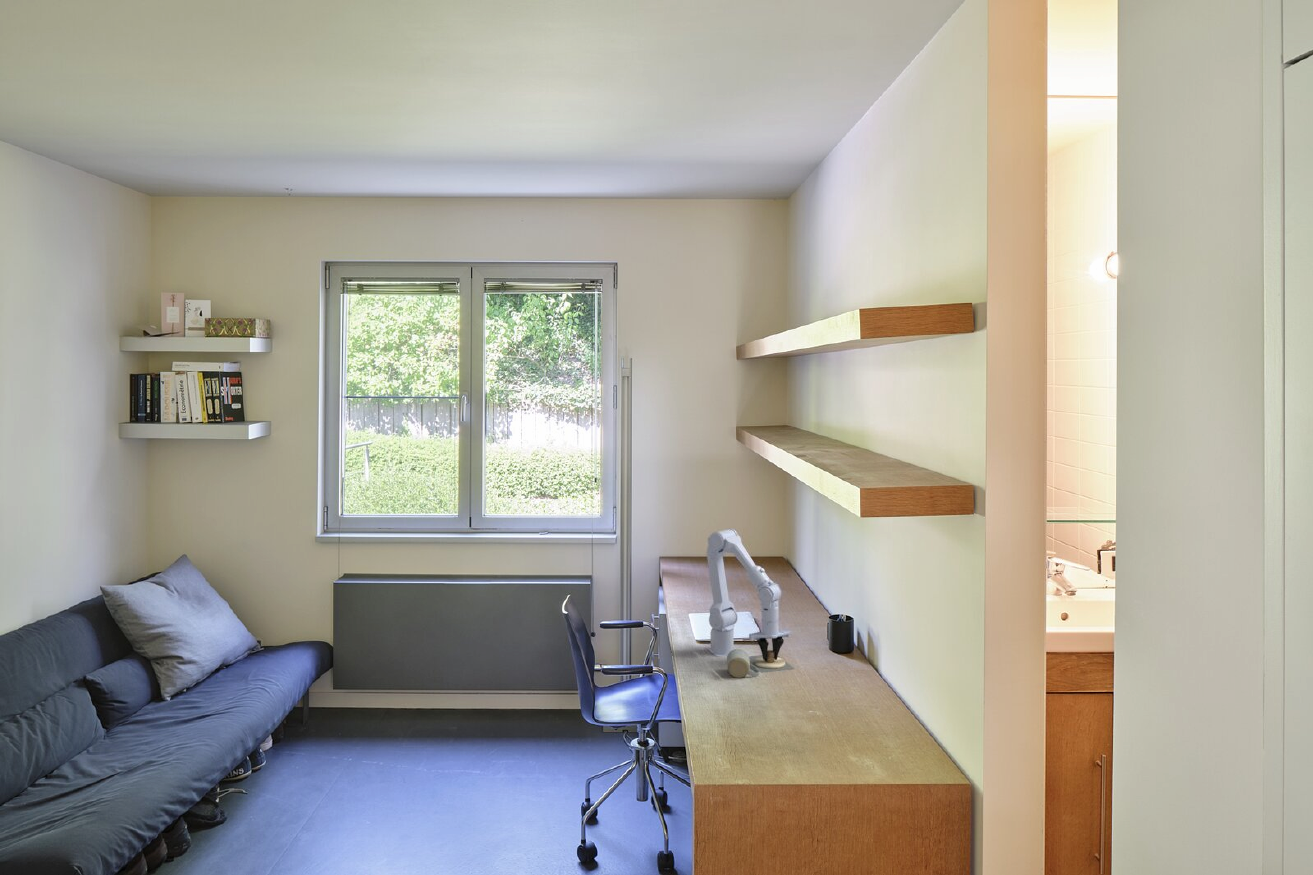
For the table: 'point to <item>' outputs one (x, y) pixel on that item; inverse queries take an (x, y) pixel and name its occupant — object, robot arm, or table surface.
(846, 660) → the table surface
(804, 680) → the table surface
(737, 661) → the ceramic mug
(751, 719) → the table surface
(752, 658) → the mat
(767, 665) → the lid
